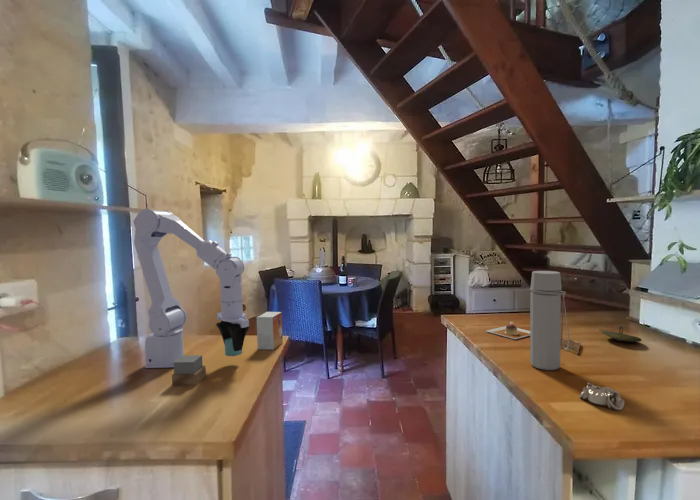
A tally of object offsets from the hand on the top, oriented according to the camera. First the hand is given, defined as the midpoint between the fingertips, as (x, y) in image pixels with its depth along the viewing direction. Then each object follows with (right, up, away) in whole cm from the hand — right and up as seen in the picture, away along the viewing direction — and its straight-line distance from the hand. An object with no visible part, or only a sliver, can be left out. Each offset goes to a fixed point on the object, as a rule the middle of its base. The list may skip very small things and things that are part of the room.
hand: (233, 348), depth 108 cm
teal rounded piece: (0, -2, 0) cm, 2 cm away
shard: (+100, -2, +8) cm, 101 cm away
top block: (-8, -3, -11) cm, 14 cm away
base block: (-8, -6, -11) cm, 15 cm away
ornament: (+86, -5, -28) cm, 90 cm away
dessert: (+89, -2, +24) cm, 92 cm away
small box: (+7, -4, +16) cm, 18 cm away
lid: (+118, -1, +12) cm, 118 cm away
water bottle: (+85, -3, -7) cm, 86 cm away
